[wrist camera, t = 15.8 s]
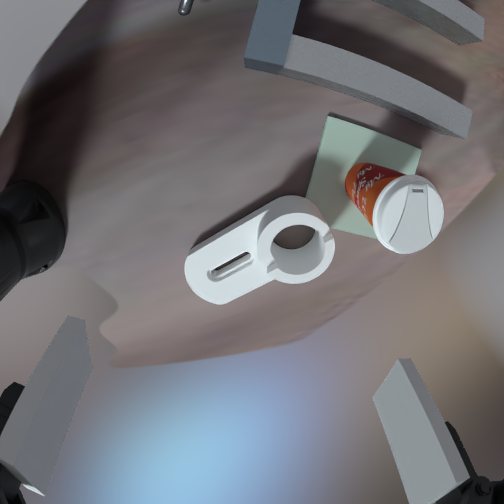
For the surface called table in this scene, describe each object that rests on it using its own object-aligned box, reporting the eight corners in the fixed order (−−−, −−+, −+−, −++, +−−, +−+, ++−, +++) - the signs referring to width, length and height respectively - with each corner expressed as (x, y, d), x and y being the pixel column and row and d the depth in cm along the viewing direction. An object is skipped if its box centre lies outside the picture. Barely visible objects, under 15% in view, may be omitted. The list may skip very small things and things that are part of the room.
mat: (298, 219, 40) (299, 220, 40) (326, 115, 34) (328, 115, 34) (389, 240, 42) (390, 242, 41) (419, 149, 36) (421, 149, 35)
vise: (175, 57, 31) (159, 46, 25) (211, -59, 23) (205, -84, 17) (441, 134, 35) (470, 140, 28) (460, 24, 27) (488, 17, 20)
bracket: (304, 183, 37) (312, 198, 31) (334, 238, 41) (346, 261, 35) (176, 257, 42) (164, 282, 36) (212, 301, 46) (205, 330, 40)
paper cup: (336, 153, 36) (380, 177, 23) (391, 155, 36) (452, 179, 23) (335, 212, 39) (373, 262, 27) (388, 211, 39) (440, 256, 26)
